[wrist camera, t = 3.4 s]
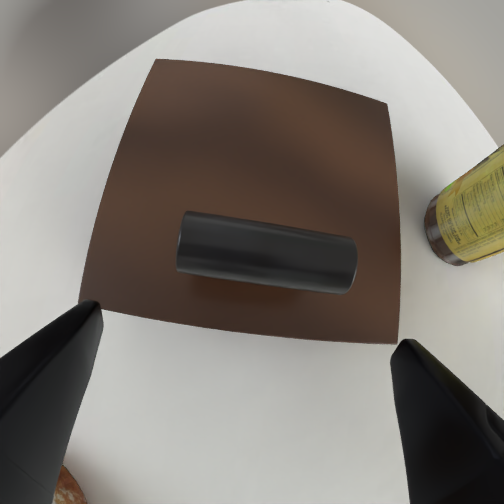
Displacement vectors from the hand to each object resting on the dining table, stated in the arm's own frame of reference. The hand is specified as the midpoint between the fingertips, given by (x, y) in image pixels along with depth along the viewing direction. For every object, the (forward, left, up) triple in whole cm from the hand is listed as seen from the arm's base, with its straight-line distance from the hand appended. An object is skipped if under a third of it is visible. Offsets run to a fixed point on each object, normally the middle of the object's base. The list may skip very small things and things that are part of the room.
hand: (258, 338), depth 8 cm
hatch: (+5, +5, -4) cm, 8 cm away
